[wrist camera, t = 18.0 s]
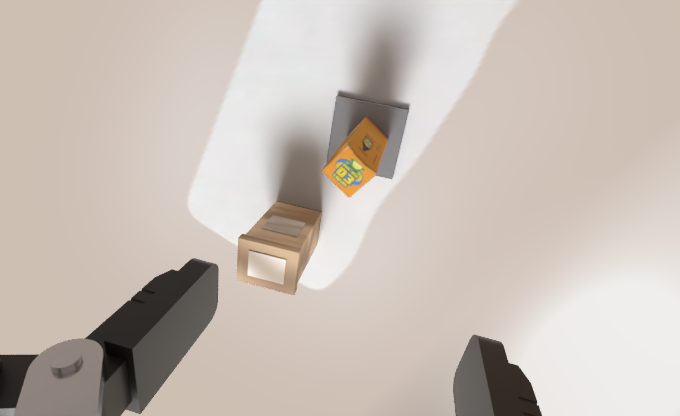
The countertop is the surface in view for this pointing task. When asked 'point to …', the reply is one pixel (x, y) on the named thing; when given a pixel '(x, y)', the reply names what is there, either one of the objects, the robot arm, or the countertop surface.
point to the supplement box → (357, 158)
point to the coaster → (380, 115)
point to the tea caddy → (278, 247)
